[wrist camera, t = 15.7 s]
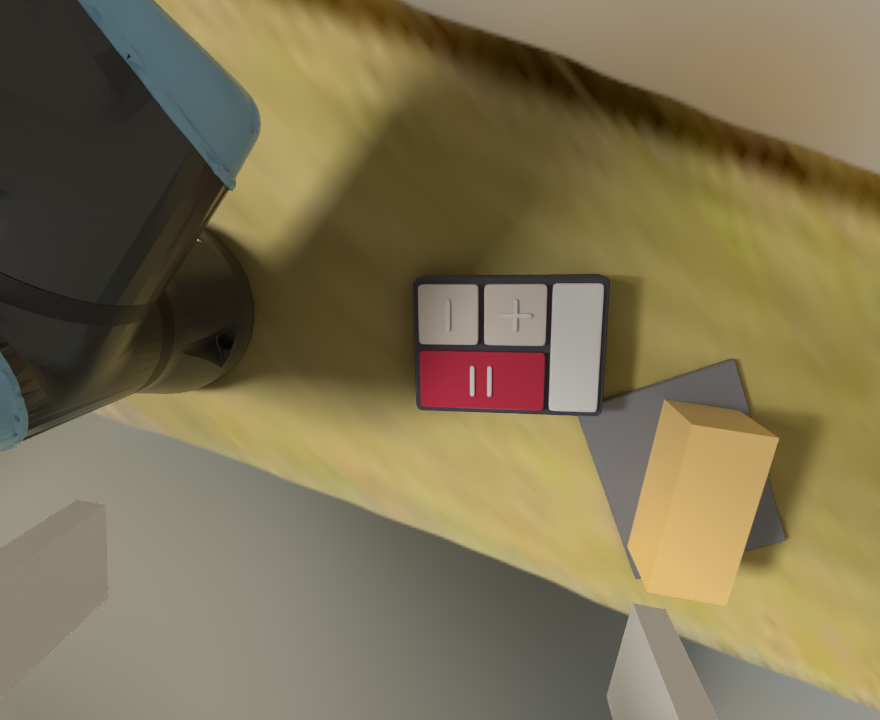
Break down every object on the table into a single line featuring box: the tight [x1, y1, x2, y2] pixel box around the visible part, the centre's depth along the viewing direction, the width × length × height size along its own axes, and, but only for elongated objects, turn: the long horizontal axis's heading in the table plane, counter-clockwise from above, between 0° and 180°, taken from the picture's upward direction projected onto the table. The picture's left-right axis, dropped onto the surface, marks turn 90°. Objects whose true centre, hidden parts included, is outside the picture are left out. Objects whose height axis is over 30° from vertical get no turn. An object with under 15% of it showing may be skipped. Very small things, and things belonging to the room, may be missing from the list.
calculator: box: [413, 274, 610, 416], centre depth 41 cm, size 11×4×15 cm
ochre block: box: [627, 399, 779, 606], centre depth 40 cm, size 6×6×14 cm
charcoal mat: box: [578, 359, 786, 579], centre depth 43 cm, size 17×13×1 cm
